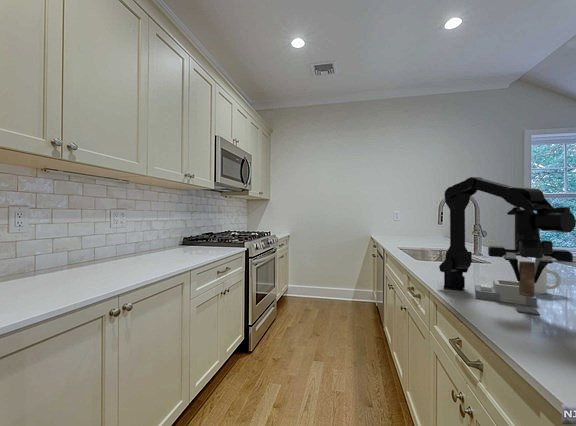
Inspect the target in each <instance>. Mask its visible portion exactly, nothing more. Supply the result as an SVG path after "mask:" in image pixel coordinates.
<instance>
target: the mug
mask: <svg viewBox="0 0 576 426" xmlns="http://www.w3.org/2000/svg"><path fill="white" fill-rule="evenodd" d="M547 265H548V264H547ZM547 265H546V266H545V268H544V269H543V270H542V272H541V274H540V276H539V279H538V281H537V283H535V289H534V295H536V294H538V295H544V294H546V293H547V292H548V291H547V290H553V289H557V288H558V287H559V286H560V285H561V282H562V278H561V276H560V274H559V273H558V272H557V271H556V270H554V269H551V268H548V266H547ZM518 268H519V261H518ZM548 274H551V275H553V276H554V278H555V283H553V284H551V285H549V284H548Z"/></svg>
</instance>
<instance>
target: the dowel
mask: <svg viewBox="0 0 576 426" xmlns="http://www.w3.org/2000/svg"><path fill="white" fill-rule="evenodd" d="M518 262H519V275H520V281H519V295H522V296H527V297H534V296H535V294H534V289H535V261H527V260H520V261H519V260H518Z"/></svg>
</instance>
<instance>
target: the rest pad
mask: <svg viewBox="0 0 576 426" xmlns="http://www.w3.org/2000/svg"><path fill="white" fill-rule="evenodd" d="M514 308H515V310H516V312H517V313H520V314H527V315H533V316H534V315H535V316H539V317H540V316H541V313H540V312H539V311H538V309H536V308H532V307H523V306H518V305H517V306H516V305H515V306H514Z"/></svg>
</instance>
